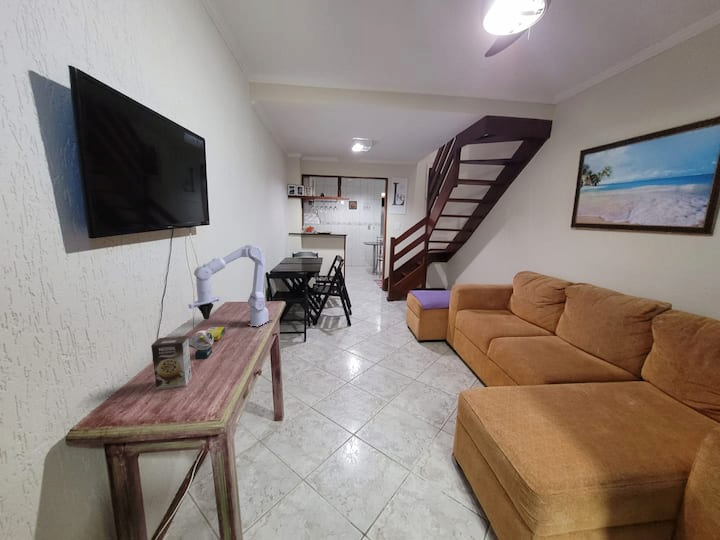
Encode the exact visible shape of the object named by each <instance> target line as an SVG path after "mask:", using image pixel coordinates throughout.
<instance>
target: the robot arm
mask: <svg viewBox="0 0 720 540" xmlns="http://www.w3.org/2000/svg"><path fill="white" fill-rule="evenodd" d="M240 258H249V259H251V261H252V262H253V263H254V270H253V271H254V272H253V280H252V291H251V293H250V294H249V297H248V299H247V304H248V306H249V315H250V316H249V318H250V319H249V320H250V323H251V325H253V326H258V325H262V324H264V323H265V322H267V321H270V319H269V318H270V317H269V316H270V315H269V313H270V312H269V309H268V308H267V307H266V301H265V295H264V293H263V291H264V283H265V273H266V272H265V271H266V262H267V261H266V258H265V255H264V254H263V250H262V249H261V248H260V246H257V245H251V244H246V245H244V246H241V247H240V248H238V249H236V250H234V251H232V252H231V253H230V254H228V255H226V256H224V257H222V258H220V257H217V258H215V257H213V258H212V260H211V261H209V262H208V263H203V264H202V265H201V266H197V267H196V268H195V270H194V272H193V275H194V276H195V278H196V279H195V280H196V295H197V301H194V302H192V303H188V309H192V310H193V309H195V308H197V309H198V310H199V311H200V313H201V315H202V317H203V320H209V319H210V318H211V317H210V316H211V312H212V310H213V308H214V303H215V302H220V301H221V298H220V296H212V289H211V287H212V286H211V279H210V278H211V276H213V275H214V274H217V273H219V272H220V271H222V270H223V269H225V267H226V266H227V265H228V264H229V263H231V262H234V261H235V260H237V259H240Z"/></svg>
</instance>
